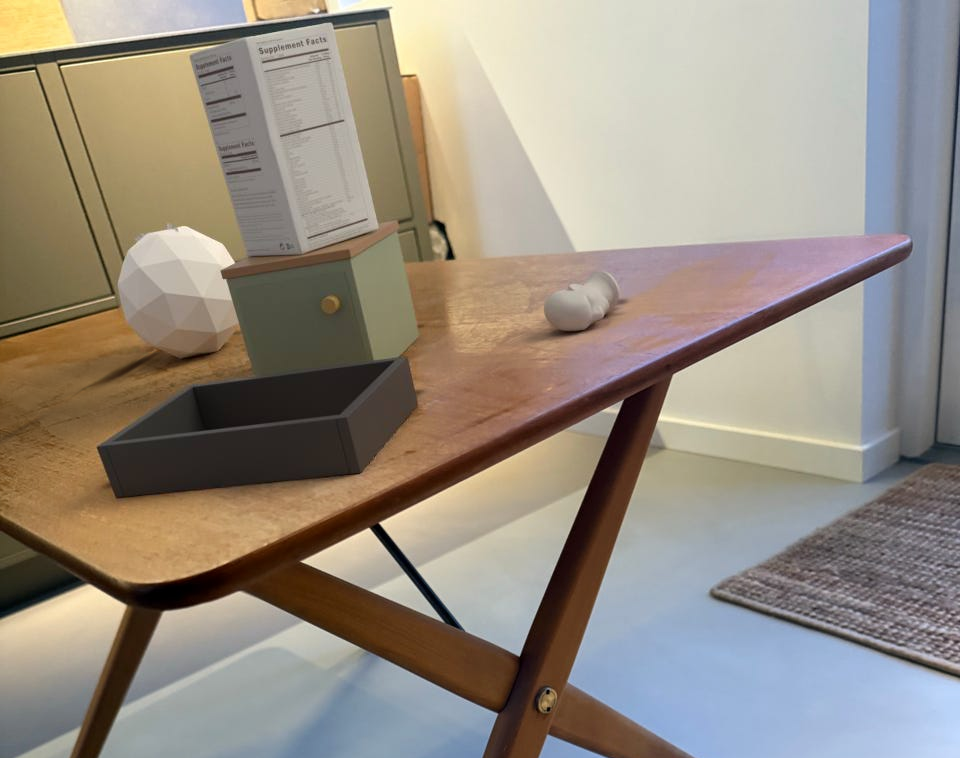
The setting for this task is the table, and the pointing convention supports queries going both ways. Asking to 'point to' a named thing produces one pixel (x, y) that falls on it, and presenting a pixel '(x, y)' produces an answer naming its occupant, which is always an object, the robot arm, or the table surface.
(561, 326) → the smooth white sculpture
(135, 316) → the geodesic sphere
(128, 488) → the tray
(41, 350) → the table surface
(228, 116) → the supplement box
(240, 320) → the cabinet
